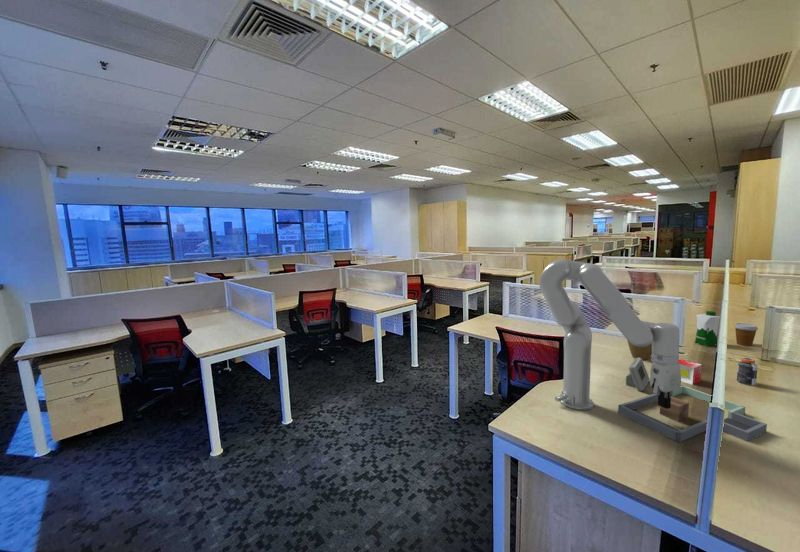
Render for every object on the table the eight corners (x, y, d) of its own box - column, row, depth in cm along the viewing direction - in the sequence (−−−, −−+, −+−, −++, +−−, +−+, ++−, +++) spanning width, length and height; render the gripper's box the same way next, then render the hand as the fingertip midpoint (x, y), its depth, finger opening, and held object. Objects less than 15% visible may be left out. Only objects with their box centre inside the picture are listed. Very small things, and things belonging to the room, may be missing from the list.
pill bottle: (760, 386, 139) (762, 361, 138) (743, 385, 140) (746, 361, 139) (748, 380, 145) (750, 356, 144) (732, 379, 146) (734, 356, 145)
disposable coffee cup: (728, 343, 193) (730, 324, 191) (738, 341, 195) (740, 322, 194) (750, 348, 184) (751, 328, 182) (760, 345, 186) (762, 326, 185)
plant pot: (664, 363, 167) (666, 333, 165) (633, 362, 170) (634, 333, 168) (647, 353, 182) (648, 325, 180) (618, 352, 184) (620, 325, 182)
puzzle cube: (671, 378, 150) (672, 362, 149) (679, 374, 153) (680, 359, 152) (692, 385, 143) (694, 368, 142) (700, 380, 146) (702, 364, 145)
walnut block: (678, 422, 115) (679, 406, 115) (659, 414, 121) (660, 399, 120) (688, 418, 118) (689, 403, 117) (669, 410, 123) (670, 395, 122)
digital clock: (641, 393, 137) (642, 369, 136) (618, 385, 144) (619, 363, 143) (657, 383, 145) (658, 361, 144) (634, 376, 153) (635, 355, 152)
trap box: (711, 458, 96) (712, 449, 96) (618, 412, 123) (618, 405, 123) (777, 426, 111) (778, 418, 110) (681, 391, 137) (681, 384, 137)
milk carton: (720, 345, 189) (722, 313, 187) (707, 347, 187) (710, 314, 185) (703, 341, 197) (706, 309, 195) (691, 342, 196) (694, 311, 194)
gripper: (663, 365, 107) (662, 416, 109) (690, 357, 113) (689, 406, 114) (639, 358, 114) (639, 407, 116) (666, 351, 120) (665, 397, 121)
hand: (664, 406), depth 115 cm, fingers closed
